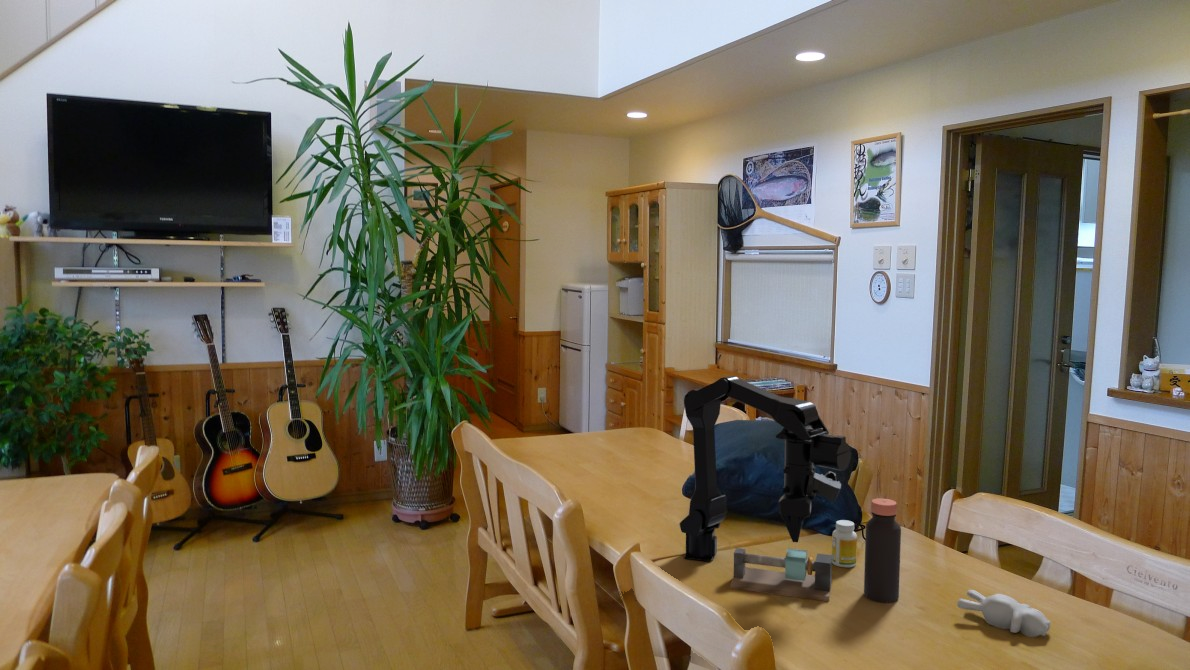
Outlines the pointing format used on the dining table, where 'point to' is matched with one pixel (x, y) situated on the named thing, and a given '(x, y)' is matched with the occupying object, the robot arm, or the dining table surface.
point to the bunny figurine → (1007, 613)
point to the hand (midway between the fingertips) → (797, 534)
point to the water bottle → (882, 552)
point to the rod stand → (782, 576)
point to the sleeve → (795, 564)
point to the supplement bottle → (844, 544)
